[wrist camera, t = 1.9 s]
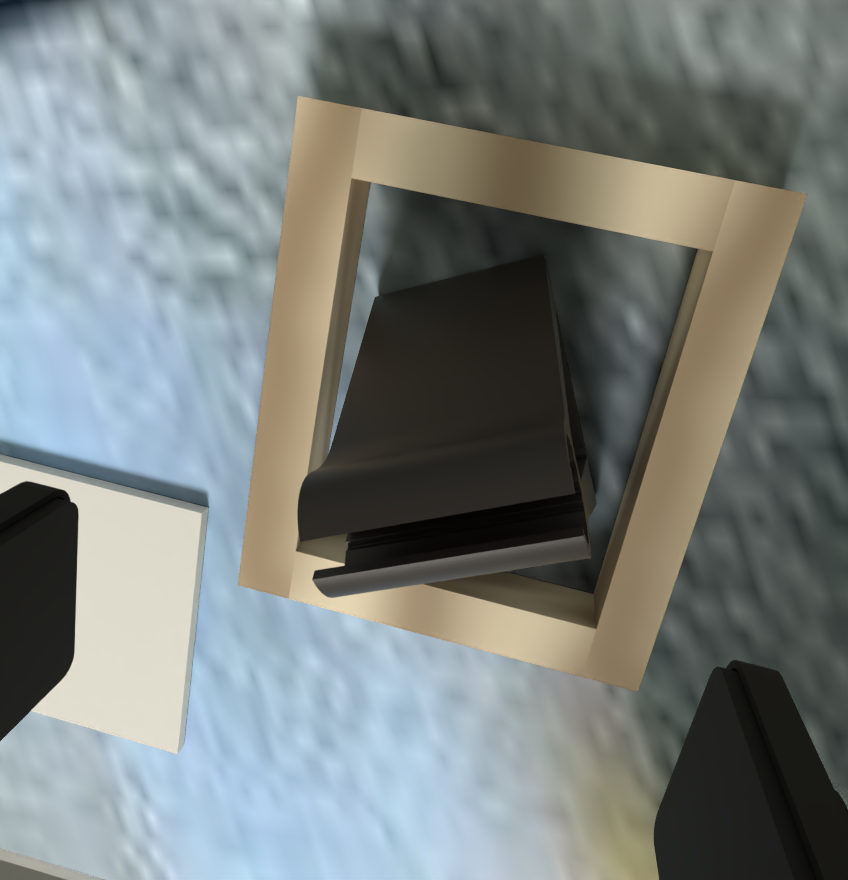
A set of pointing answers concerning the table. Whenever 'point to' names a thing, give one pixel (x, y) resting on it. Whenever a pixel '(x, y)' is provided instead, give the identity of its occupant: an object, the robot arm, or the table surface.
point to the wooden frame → (669, 418)
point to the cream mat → (127, 607)
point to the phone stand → (454, 439)
